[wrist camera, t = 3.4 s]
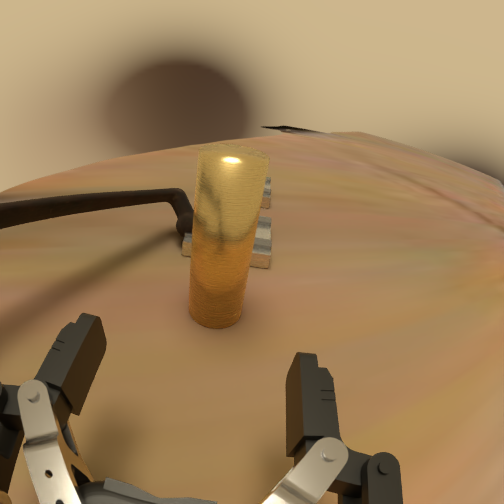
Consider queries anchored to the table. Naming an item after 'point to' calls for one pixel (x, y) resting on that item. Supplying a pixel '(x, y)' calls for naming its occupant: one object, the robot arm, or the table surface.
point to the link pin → (224, 230)
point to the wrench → (96, 206)
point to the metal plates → (262, 236)
